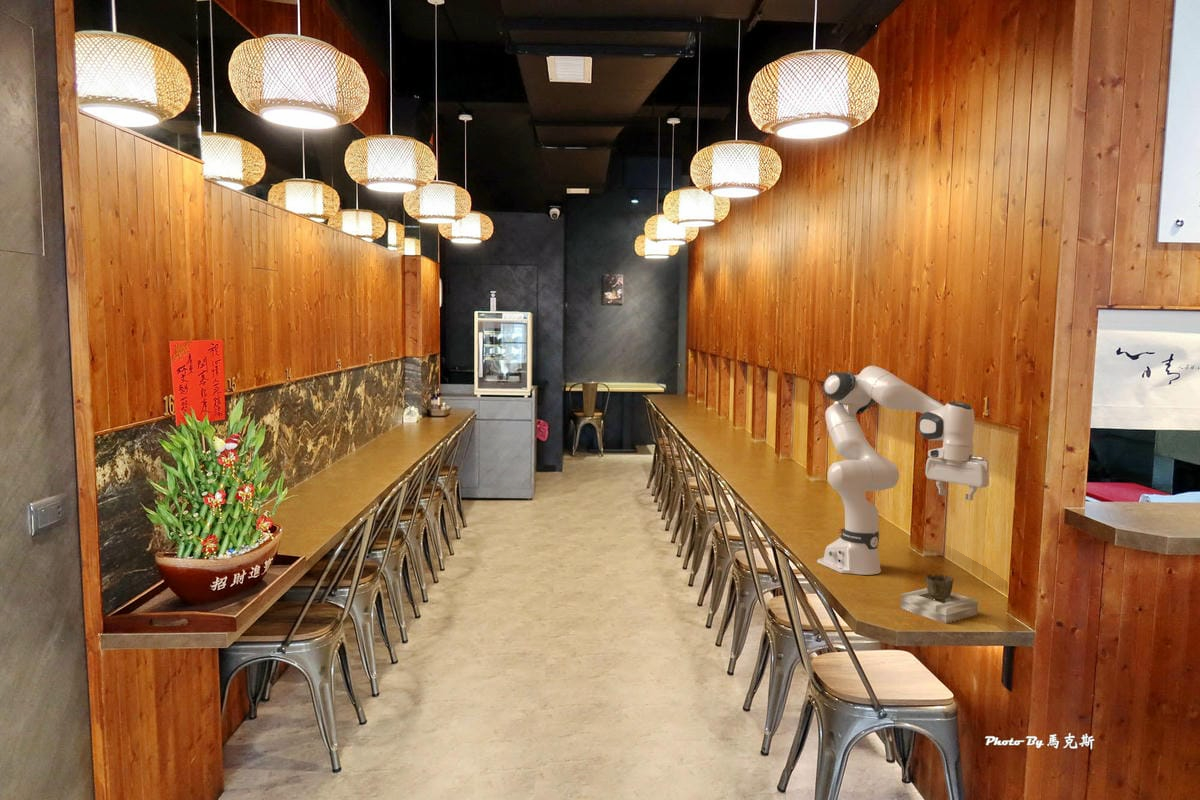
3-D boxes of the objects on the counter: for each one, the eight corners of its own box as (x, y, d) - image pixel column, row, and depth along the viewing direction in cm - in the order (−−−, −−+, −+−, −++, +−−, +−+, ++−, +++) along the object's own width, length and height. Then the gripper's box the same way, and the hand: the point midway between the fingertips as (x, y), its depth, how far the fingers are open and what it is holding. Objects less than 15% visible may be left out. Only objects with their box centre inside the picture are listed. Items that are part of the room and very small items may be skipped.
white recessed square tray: (900, 610, 235) (901, 594, 235) (931, 602, 243) (932, 586, 242) (945, 625, 222) (946, 608, 222) (977, 617, 230) (977, 600, 230)
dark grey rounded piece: (945, 599, 236) (946, 573, 236) (957, 607, 229) (958, 580, 228) (920, 599, 236) (921, 573, 236) (932, 607, 229) (933, 580, 228)
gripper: (994, 457, 240) (992, 502, 241) (935, 449, 257) (933, 491, 258) (982, 458, 237) (980, 503, 237) (923, 450, 254) (921, 492, 255)
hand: (955, 497), depth 248 cm, fingers open, 8 cm apart
